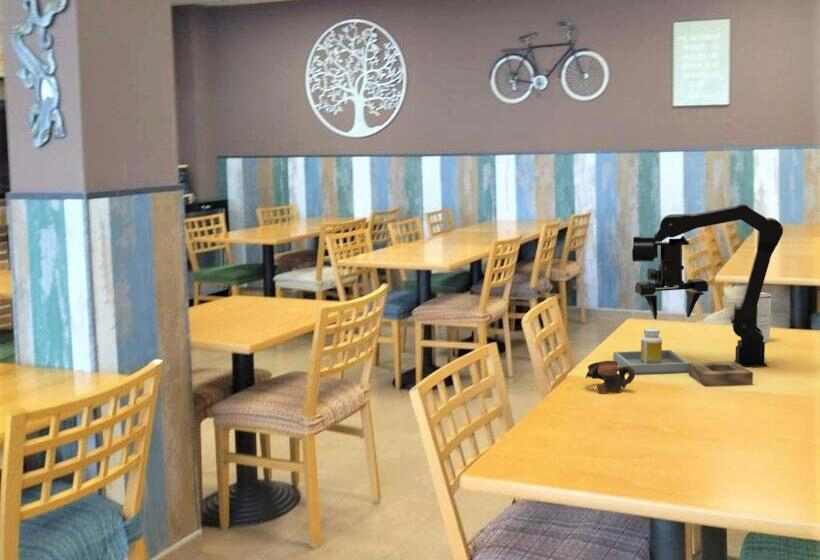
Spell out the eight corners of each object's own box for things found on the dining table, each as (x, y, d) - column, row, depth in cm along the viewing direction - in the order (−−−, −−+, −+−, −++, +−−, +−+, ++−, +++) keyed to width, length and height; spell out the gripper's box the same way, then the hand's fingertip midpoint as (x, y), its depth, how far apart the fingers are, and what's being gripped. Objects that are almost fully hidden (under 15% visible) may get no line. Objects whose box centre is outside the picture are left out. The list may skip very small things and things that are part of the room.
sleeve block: (734, 372, 253) (734, 361, 253) (752, 384, 241) (752, 372, 241) (688, 374, 253) (688, 363, 252) (704, 386, 241) (705, 374, 240)
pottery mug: (586, 396, 237) (580, 363, 240) (595, 403, 245) (589, 372, 248) (635, 386, 233) (629, 353, 236) (642, 394, 241) (636, 362, 244)
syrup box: (741, 339, 293) (742, 292, 290) (758, 338, 294) (759, 290, 292) (753, 343, 287) (755, 294, 285) (770, 341, 289) (772, 293, 287)
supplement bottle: (636, 364, 262) (637, 329, 261) (648, 361, 266) (649, 326, 264) (653, 367, 258) (653, 332, 257) (665, 364, 262) (666, 329, 260)
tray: (670, 358, 270) (670, 350, 270) (689, 372, 255) (689, 363, 254) (613, 360, 270) (613, 352, 269) (629, 374, 254) (629, 365, 253)
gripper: (693, 256, 273) (693, 311, 275) (628, 259, 271) (629, 315, 274) (709, 260, 262) (709, 318, 264) (641, 264, 260) (641, 322, 263)
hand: (671, 318), depth 266 cm, fingers open, 9 cm apart
